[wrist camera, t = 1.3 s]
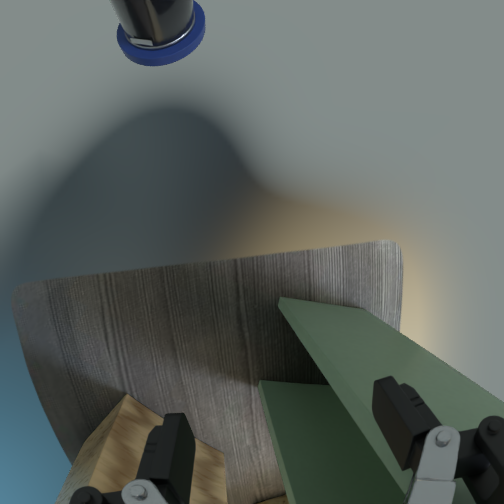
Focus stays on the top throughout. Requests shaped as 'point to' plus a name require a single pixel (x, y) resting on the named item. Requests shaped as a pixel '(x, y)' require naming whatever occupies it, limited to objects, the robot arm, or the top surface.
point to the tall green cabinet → (357, 407)
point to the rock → (277, 500)
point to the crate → (137, 457)
